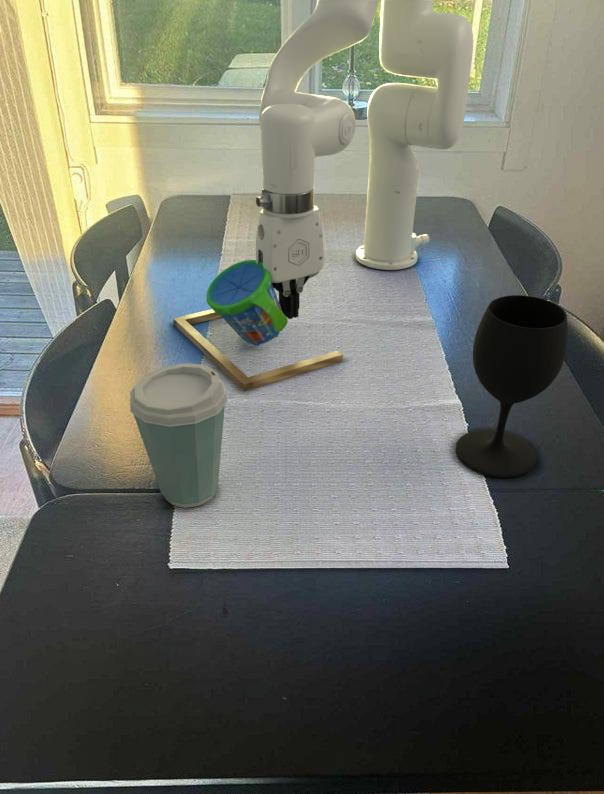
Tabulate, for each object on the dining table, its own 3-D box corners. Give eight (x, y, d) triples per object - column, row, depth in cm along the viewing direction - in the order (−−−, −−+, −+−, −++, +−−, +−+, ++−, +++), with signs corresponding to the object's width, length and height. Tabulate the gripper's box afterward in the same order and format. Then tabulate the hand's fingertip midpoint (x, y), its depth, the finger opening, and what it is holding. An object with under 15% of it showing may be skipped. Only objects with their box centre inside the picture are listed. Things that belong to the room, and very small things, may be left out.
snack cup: (217, 332, 118) (187, 286, 111) (264, 293, 119) (237, 245, 112) (264, 371, 108) (234, 324, 101) (315, 328, 109) (289, 278, 102)
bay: (263, 302, 126) (263, 296, 125) (342, 361, 110) (343, 354, 109) (173, 324, 118) (172, 318, 118) (244, 391, 102) (243, 384, 101)
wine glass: (539, 440, 94) (577, 300, 81) (532, 486, 86) (572, 339, 73) (461, 425, 96) (487, 286, 84) (448, 468, 89) (473, 323, 76)
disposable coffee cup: (160, 530, 79) (142, 418, 69) (132, 477, 86) (113, 369, 77) (247, 503, 82) (241, 394, 73) (214, 454, 90) (205, 349, 81)
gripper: (257, 215, 97) (261, 335, 109) (344, 198, 104) (339, 313, 115) (231, 201, 102) (238, 317, 114) (316, 185, 109) (314, 296, 120)
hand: (289, 314), depth 114 cm, fingers closed
